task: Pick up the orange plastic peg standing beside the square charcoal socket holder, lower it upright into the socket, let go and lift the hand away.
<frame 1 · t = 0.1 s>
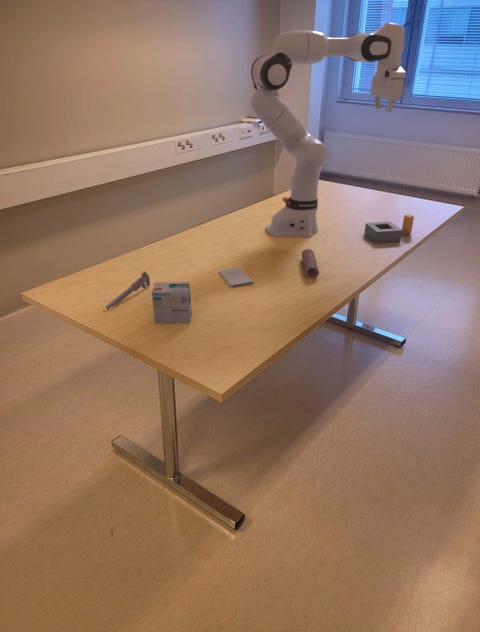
hand: (382, 110, 201), 48 cm above the table, fingers open, 8 cm apart
peg: (405, 234, 214), on the table
external hard drive: (235, 280, 175), on the table
light bulb box: (173, 319, 150), on the table
socket holder: (381, 237, 210), on the table
caliper: (127, 299, 161), on the table
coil: (309, 269, 183), on the table
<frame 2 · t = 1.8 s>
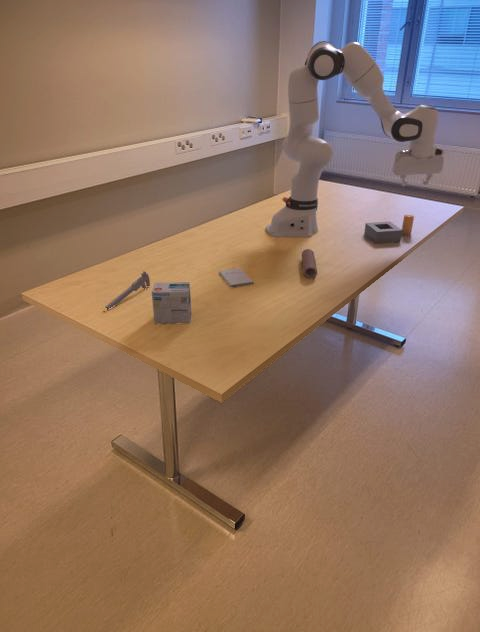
hand: (414, 185, 204), 21 cm above the table, fingers open, 8 cm apart
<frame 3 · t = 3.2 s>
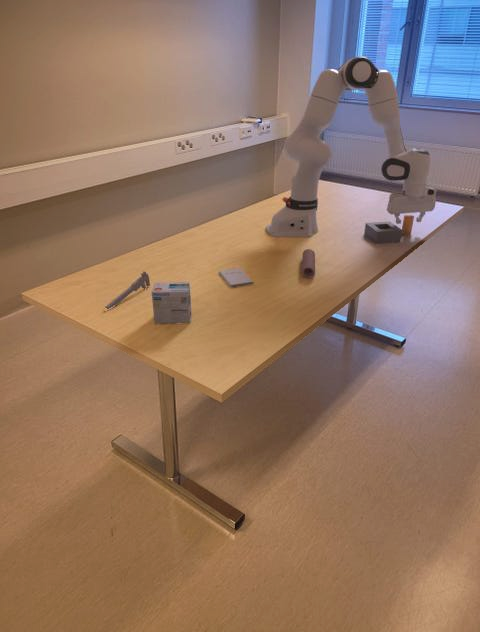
hand: (408, 222, 212), 5 cm above the table, fingers open, 8 cm apart
nothing on the table moved.
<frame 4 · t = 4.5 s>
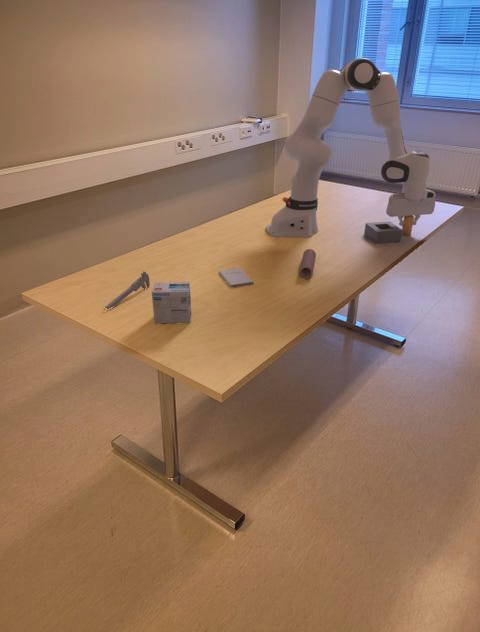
hand: (407, 225, 212), 4 cm above the table, fingers closed on peg, 4 cm apart
peg: (405, 234, 214), on the table, touching gripper
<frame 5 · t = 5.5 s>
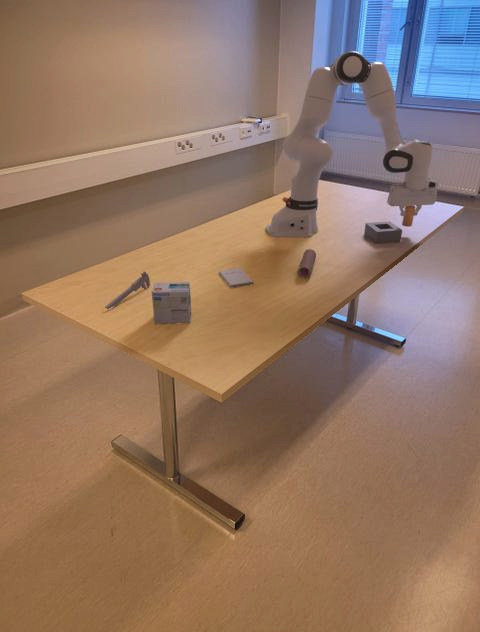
hand: (408, 215, 210), 8 cm above the table, fingers closed on peg, 4 cm apart
peg: (406, 225, 212), point 4 cm above the table, touching gripper
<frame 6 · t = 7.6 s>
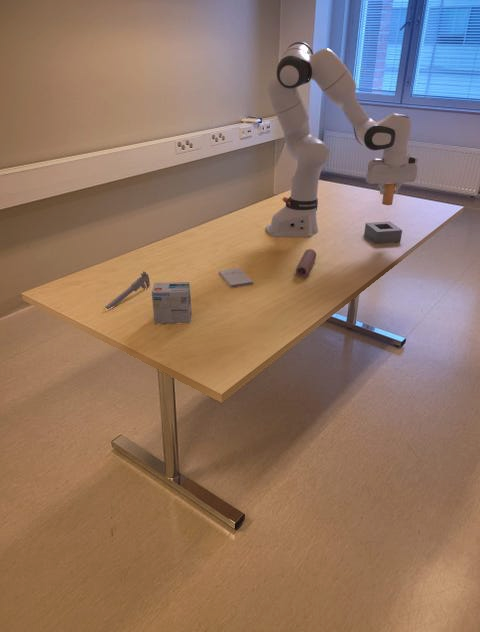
hand: (388, 193, 201), 19 cm above the table, fingers closed on peg, 4 cm apart
peg: (387, 203, 203), point 15 cm above the table, touching gripper
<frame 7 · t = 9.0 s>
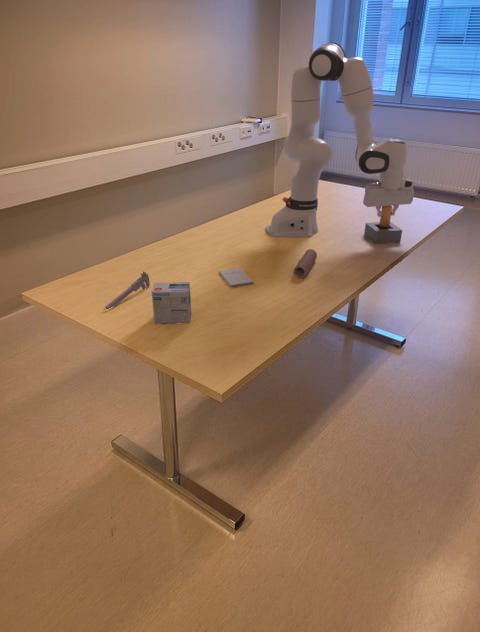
hand: (385, 215, 206), 10 cm above the table, fingers closed on peg, 4 cm apart
peg: (384, 225, 208), point 6 cm above the table, touching gripper
when the fingers open (5 cm above the table, at t = 10.6 s): peg stays where it is, resting in socket holder.
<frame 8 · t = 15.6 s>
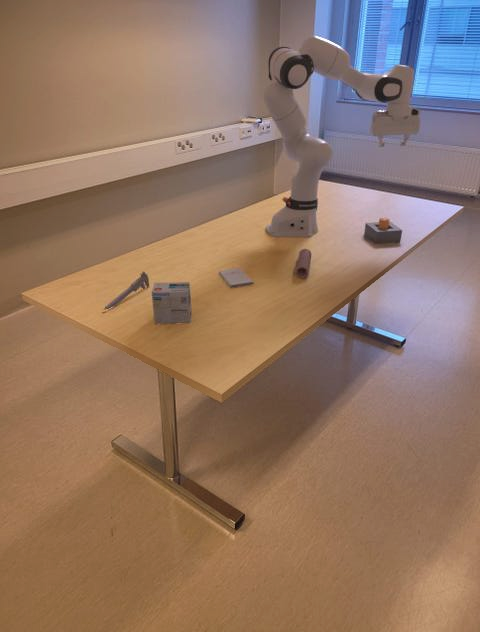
hand: (392, 146, 207), 34 cm above the table, fingers open, 8 cm apart
peg: (381, 238, 210), resting in socket holder
at the end: peg 0.1 cm off-centre on the socket holder, point 0.0 cm above the socket holder's base; peg tilted 0°; the gripper is holding nothing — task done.
